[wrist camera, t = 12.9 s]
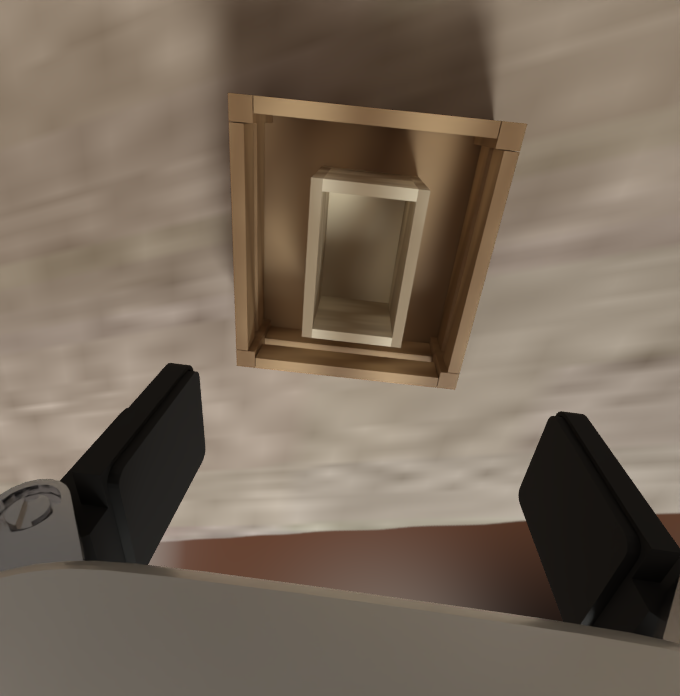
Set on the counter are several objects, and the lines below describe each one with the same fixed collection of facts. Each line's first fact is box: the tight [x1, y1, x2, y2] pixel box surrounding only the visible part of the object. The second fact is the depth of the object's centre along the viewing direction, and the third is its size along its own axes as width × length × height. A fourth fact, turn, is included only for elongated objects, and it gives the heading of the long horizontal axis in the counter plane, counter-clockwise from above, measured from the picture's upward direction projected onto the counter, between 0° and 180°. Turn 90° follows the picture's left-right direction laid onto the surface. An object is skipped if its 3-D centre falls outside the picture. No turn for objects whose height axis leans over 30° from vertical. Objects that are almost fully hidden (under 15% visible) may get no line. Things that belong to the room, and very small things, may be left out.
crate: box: [228, 93, 527, 390], centre depth 26 cm, size 14×16×6 cm
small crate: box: [302, 166, 430, 348], centre depth 26 cm, size 6×9×6 cm, turn 174°
